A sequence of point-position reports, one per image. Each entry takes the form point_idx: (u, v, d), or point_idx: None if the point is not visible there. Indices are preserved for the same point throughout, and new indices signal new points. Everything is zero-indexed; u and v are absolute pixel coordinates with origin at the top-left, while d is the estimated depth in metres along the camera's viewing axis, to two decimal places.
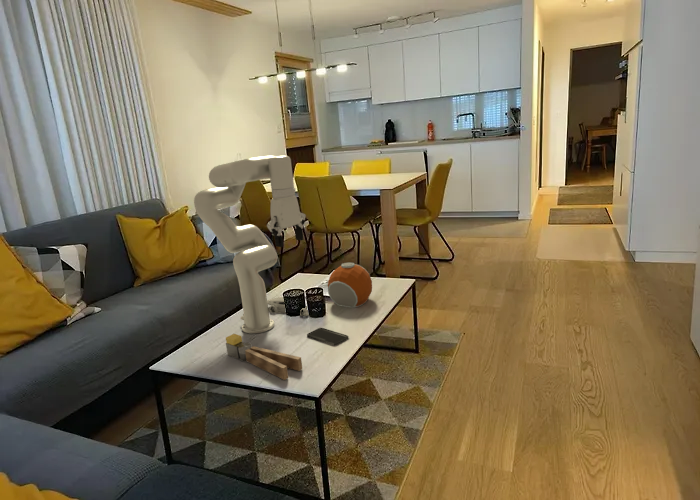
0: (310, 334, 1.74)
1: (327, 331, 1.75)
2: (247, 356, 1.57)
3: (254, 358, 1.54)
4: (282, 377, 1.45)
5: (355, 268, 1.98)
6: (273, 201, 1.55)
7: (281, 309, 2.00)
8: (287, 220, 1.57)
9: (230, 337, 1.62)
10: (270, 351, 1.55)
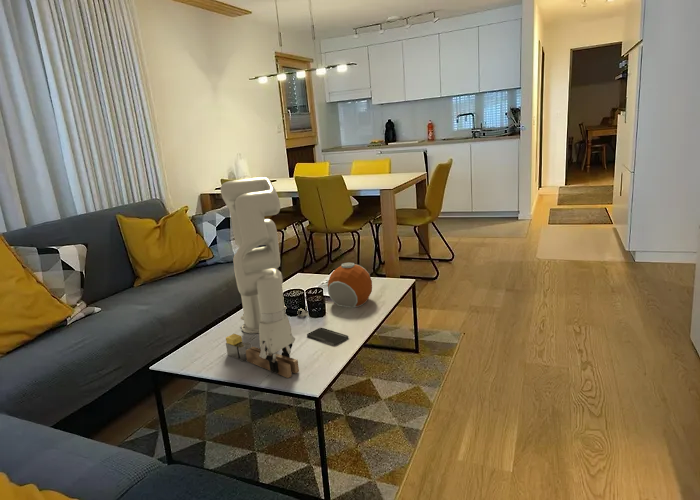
0: (310, 334, 1.74)
1: (327, 331, 1.75)
2: (248, 356, 1.57)
3: (256, 357, 1.54)
4: (285, 375, 1.45)
5: (355, 268, 1.98)
6: (262, 325, 1.43)
7: None
8: (277, 344, 1.45)
9: (230, 337, 1.62)
10: None
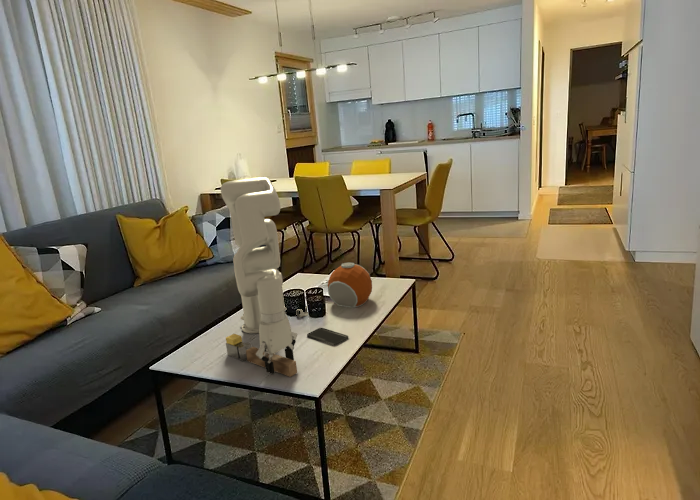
0: (310, 334, 1.74)
1: (327, 331, 1.75)
2: (248, 356, 1.57)
3: (257, 357, 1.54)
4: (288, 374, 1.46)
5: (355, 268, 1.98)
6: (262, 326, 1.43)
7: None
8: (277, 345, 1.45)
9: (230, 337, 1.62)
10: None
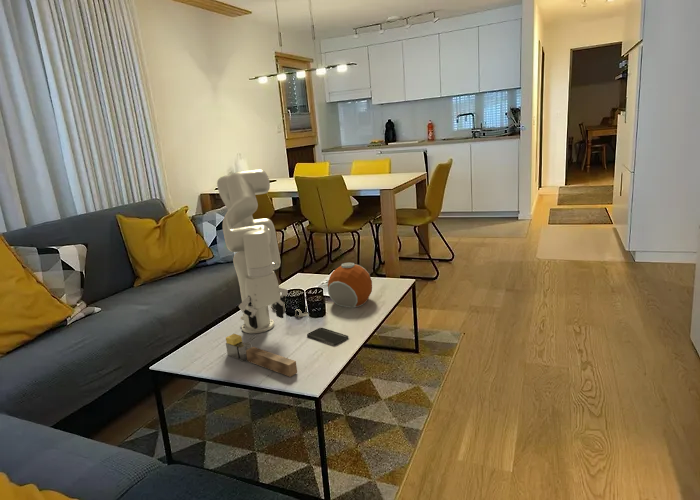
0: (310, 334, 1.74)
1: (327, 331, 1.75)
2: (248, 356, 1.57)
3: (257, 357, 1.54)
4: (288, 374, 1.46)
5: (355, 268, 1.98)
6: (247, 280, 1.42)
7: None
8: (262, 300, 1.44)
9: (230, 337, 1.62)
10: (268, 353, 1.54)
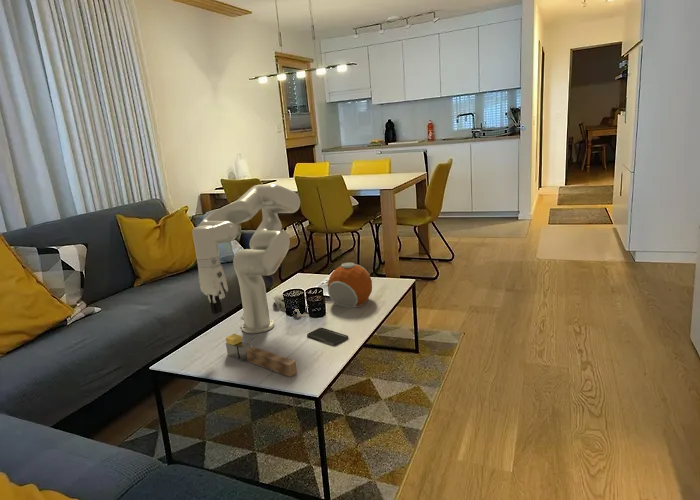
0: (310, 334, 1.74)
1: (327, 331, 1.75)
2: (248, 356, 1.57)
3: (257, 357, 1.54)
4: (288, 374, 1.46)
5: (355, 268, 1.98)
6: None
7: (282, 306, 2.03)
8: (204, 287, 1.62)
9: (230, 337, 1.62)
10: (268, 353, 1.54)
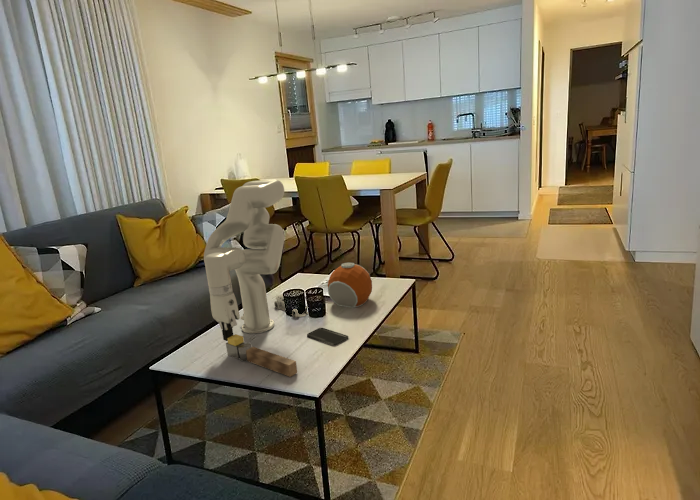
0: (310, 334, 1.74)
1: (327, 331, 1.75)
2: (248, 356, 1.57)
3: (257, 357, 1.54)
4: (288, 374, 1.46)
5: (355, 268, 1.98)
6: None
7: (283, 306, 2.03)
8: (215, 314, 1.62)
9: (232, 338, 1.62)
10: (268, 353, 1.54)
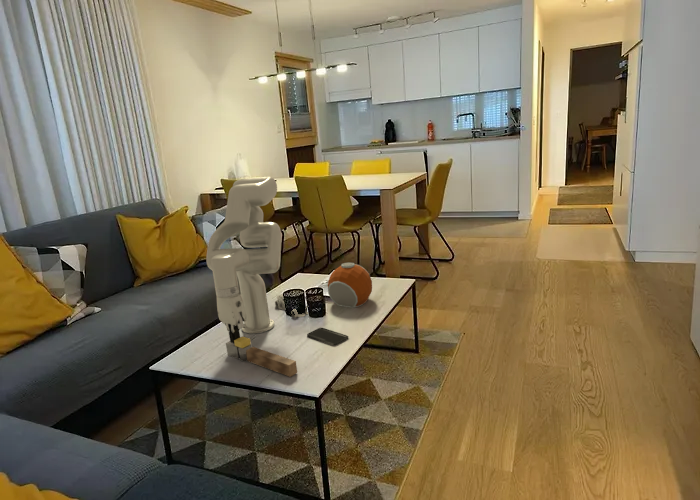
0: (310, 334, 1.74)
1: (327, 331, 1.75)
2: (248, 356, 1.57)
3: (257, 357, 1.54)
4: (288, 374, 1.46)
5: (355, 268, 1.98)
6: None
7: (283, 306, 2.04)
8: (222, 316, 1.60)
9: (239, 340, 1.60)
10: (268, 353, 1.54)
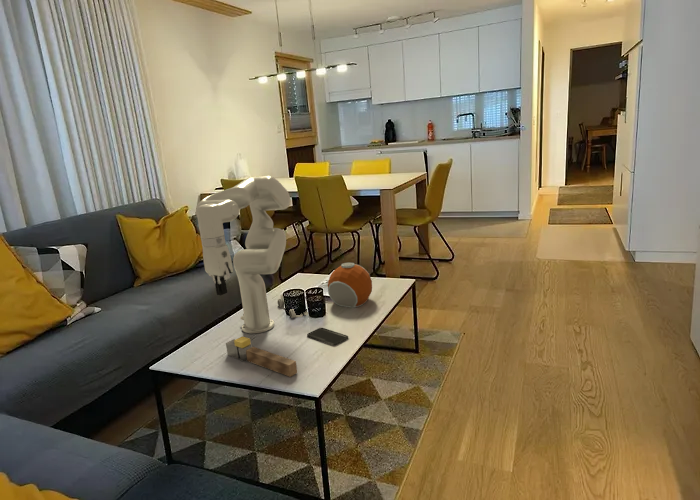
0: (310, 334, 1.74)
1: (327, 331, 1.75)
2: (248, 356, 1.57)
3: (257, 357, 1.54)
4: (288, 374, 1.46)
5: (355, 268, 1.98)
6: None
7: None
8: (208, 268, 1.58)
9: (239, 340, 1.60)
10: (268, 353, 1.54)
